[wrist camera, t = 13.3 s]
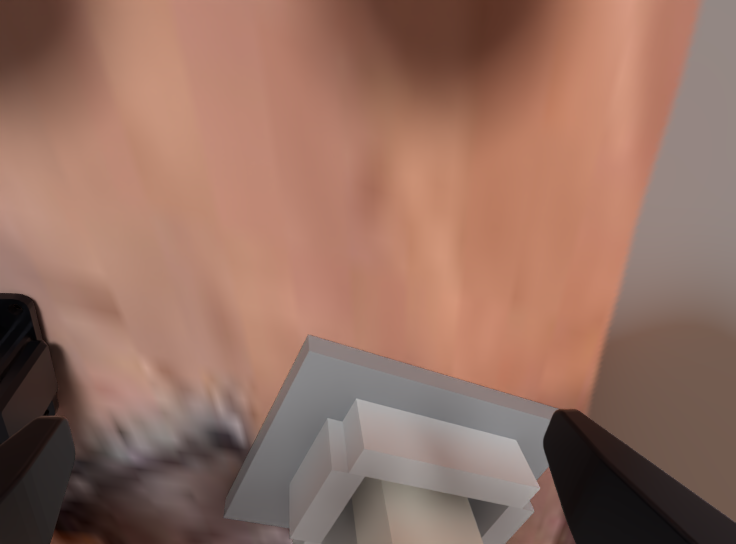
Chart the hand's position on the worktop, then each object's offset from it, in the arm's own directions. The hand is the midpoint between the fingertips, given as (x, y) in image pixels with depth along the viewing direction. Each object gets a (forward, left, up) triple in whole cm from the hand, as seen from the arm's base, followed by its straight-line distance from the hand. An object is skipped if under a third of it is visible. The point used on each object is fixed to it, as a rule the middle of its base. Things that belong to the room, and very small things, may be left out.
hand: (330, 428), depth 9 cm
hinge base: (+6, -15, -12) cm, 20 cm away
